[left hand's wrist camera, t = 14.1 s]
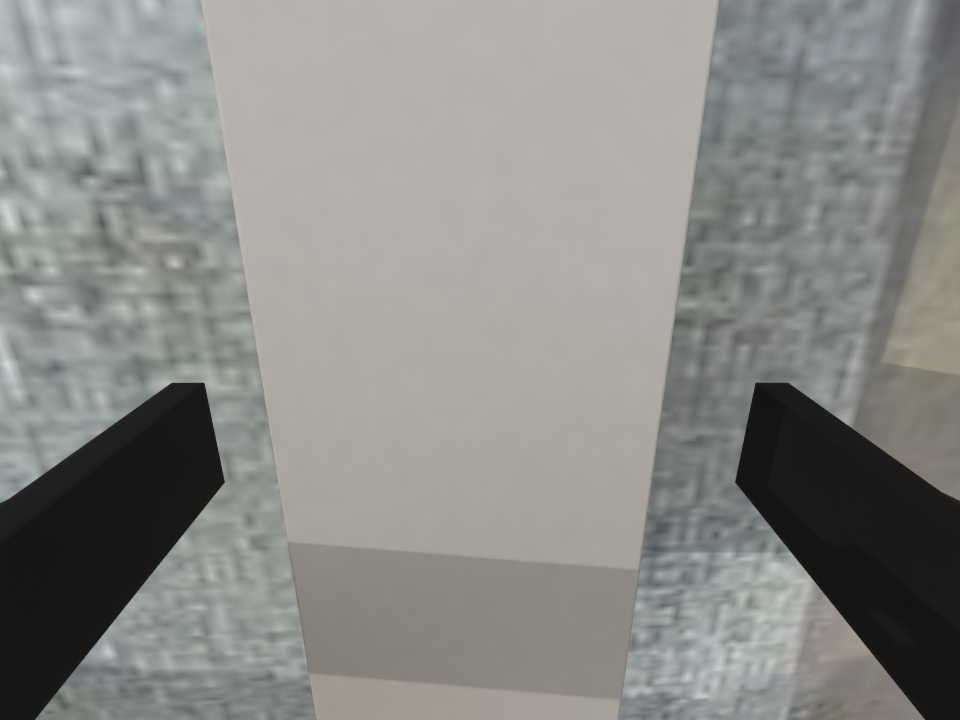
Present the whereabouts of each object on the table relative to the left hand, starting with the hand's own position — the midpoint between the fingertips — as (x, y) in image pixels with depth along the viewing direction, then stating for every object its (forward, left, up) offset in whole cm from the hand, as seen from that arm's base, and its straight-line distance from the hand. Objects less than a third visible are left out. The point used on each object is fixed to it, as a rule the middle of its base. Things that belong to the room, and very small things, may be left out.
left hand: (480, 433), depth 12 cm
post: (+16, +17, -3) cm, 24 cm away
